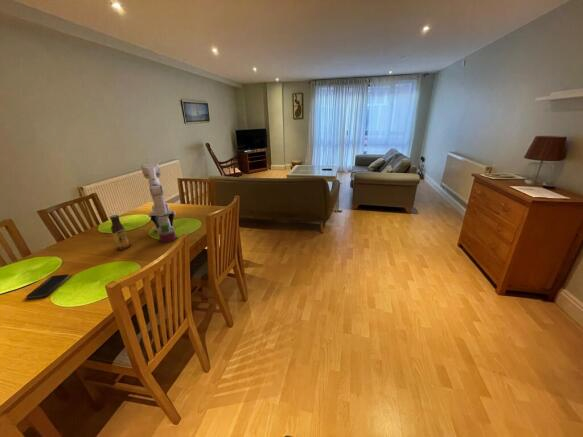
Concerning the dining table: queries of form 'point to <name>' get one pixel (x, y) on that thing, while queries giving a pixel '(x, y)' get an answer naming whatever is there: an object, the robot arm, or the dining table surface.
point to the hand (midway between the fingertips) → (165, 226)
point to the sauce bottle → (119, 233)
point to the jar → (167, 235)
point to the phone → (47, 287)
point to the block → (165, 227)
